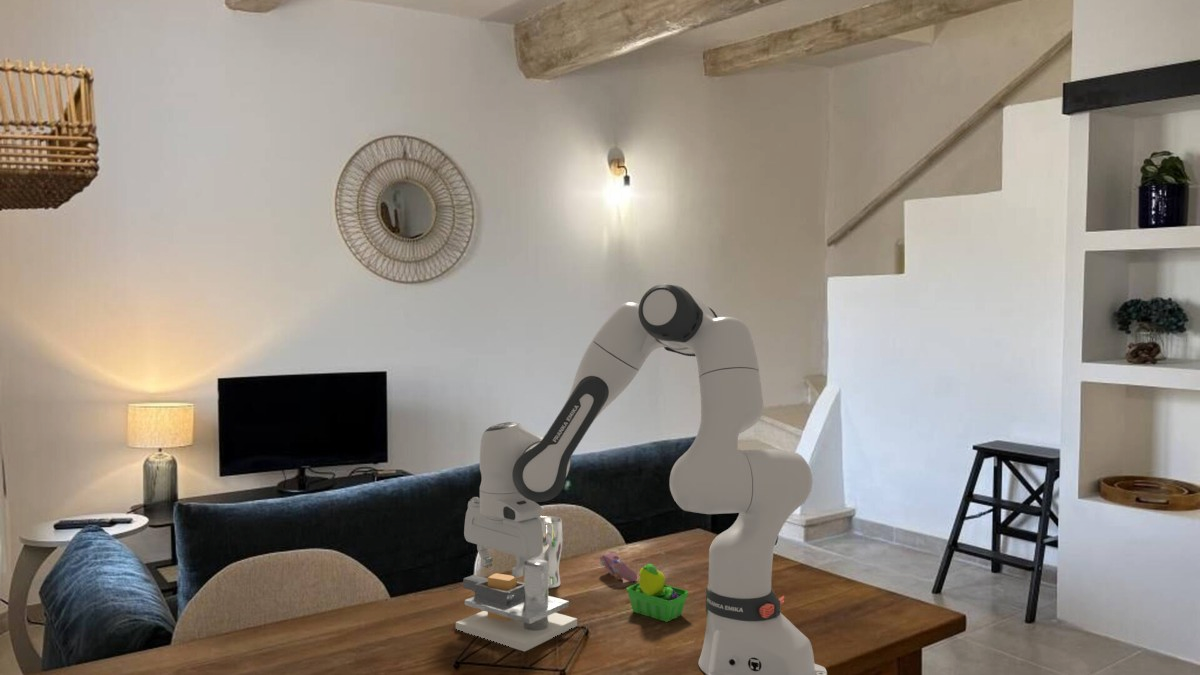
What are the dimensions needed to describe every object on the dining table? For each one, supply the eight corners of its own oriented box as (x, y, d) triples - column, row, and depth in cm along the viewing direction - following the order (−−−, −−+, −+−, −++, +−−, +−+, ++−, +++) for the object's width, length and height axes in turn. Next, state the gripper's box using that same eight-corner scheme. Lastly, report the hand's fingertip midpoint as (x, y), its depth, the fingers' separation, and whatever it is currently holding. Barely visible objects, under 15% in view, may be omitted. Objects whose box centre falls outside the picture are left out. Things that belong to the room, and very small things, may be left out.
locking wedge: (516, 615, 181) (516, 576, 181) (509, 620, 179) (509, 580, 178) (495, 611, 184) (495, 573, 183) (487, 616, 181) (487, 577, 180)
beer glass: (558, 590, 201) (558, 524, 200) (528, 588, 203) (528, 522, 202) (565, 580, 208) (565, 516, 207) (536, 578, 209) (536, 515, 209)
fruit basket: (690, 615, 187) (690, 561, 186) (665, 627, 180) (666, 571, 179) (646, 602, 194) (646, 551, 193) (620, 614, 187) (621, 560, 186)
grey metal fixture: (569, 621, 179) (569, 559, 178) (529, 639, 169) (529, 574, 168) (488, 598, 191) (488, 540, 191) (447, 614, 182) (447, 553, 181)
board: (577, 625, 180) (577, 618, 180) (524, 651, 167) (524, 643, 167) (509, 606, 191) (509, 599, 191) (455, 629, 178) (455, 622, 178)
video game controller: (605, 578, 215) (593, 554, 213) (620, 567, 217) (608, 543, 215) (624, 590, 206) (612, 565, 204) (640, 579, 208) (628, 554, 206)
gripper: (456, 497, 185) (457, 564, 185) (524, 515, 171) (524, 586, 172) (480, 492, 189) (480, 557, 190) (548, 509, 175) (548, 578, 176)
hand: (501, 571), depth 181 cm, fingers open, 8 cm apart
